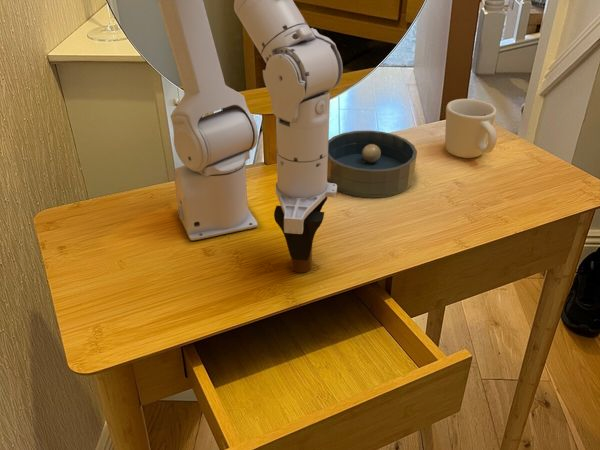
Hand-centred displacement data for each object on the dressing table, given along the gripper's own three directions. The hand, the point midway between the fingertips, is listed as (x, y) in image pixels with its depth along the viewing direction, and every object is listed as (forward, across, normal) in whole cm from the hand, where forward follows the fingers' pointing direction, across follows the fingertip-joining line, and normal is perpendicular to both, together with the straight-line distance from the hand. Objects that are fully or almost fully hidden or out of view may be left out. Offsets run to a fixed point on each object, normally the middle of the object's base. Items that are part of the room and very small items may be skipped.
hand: (301, 250), depth 77 cm
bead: (0, +29, -8) cm, 30 cm away
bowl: (+2, +26, -7) cm, 27 cm away
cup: (+3, +35, -24) cm, 42 cm away
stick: (+2, 0, 0) cm, 2 cm away
